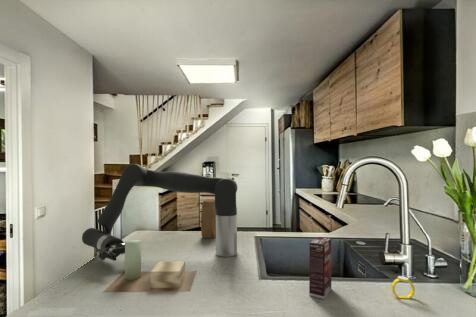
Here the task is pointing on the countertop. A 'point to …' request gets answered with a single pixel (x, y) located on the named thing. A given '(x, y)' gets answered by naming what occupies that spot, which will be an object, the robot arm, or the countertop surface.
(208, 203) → the block
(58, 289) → the countertop surface
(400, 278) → the watch
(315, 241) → the supplement box
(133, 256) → the sage cylinder
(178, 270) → the beech brick
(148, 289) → the walnut board
